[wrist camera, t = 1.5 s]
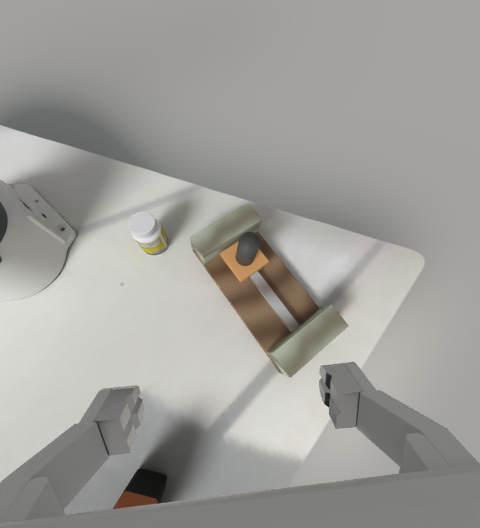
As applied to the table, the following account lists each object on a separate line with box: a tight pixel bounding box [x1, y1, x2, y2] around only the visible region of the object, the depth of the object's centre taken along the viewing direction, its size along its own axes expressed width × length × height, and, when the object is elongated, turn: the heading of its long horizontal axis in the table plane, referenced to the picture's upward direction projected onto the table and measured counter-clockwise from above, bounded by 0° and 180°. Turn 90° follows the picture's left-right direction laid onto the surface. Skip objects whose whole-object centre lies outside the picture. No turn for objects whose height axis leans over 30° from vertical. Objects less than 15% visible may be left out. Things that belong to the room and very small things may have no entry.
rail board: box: [190, 203, 349, 378], centre depth 40 cm, size 26×12×6 cm, turn 36°
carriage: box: [220, 232, 269, 283], centre depth 38 cm, size 6×6×9 cm
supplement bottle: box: [128, 211, 168, 255], centre depth 40 cm, size 5×5×8 cm
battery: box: [113, 469, 167, 509], centre depth 27 cm, size 4×7×10 cm, turn 166°
